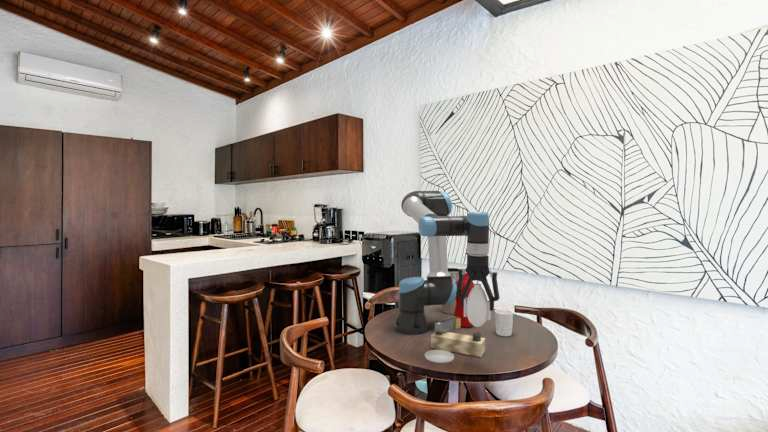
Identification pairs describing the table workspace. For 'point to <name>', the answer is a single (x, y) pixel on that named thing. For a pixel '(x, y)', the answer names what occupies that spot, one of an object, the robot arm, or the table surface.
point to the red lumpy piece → (459, 309)
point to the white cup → (503, 322)
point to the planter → (451, 307)
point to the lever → (447, 325)
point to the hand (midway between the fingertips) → (477, 317)
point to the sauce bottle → (477, 306)
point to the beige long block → (459, 343)
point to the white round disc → (439, 356)
